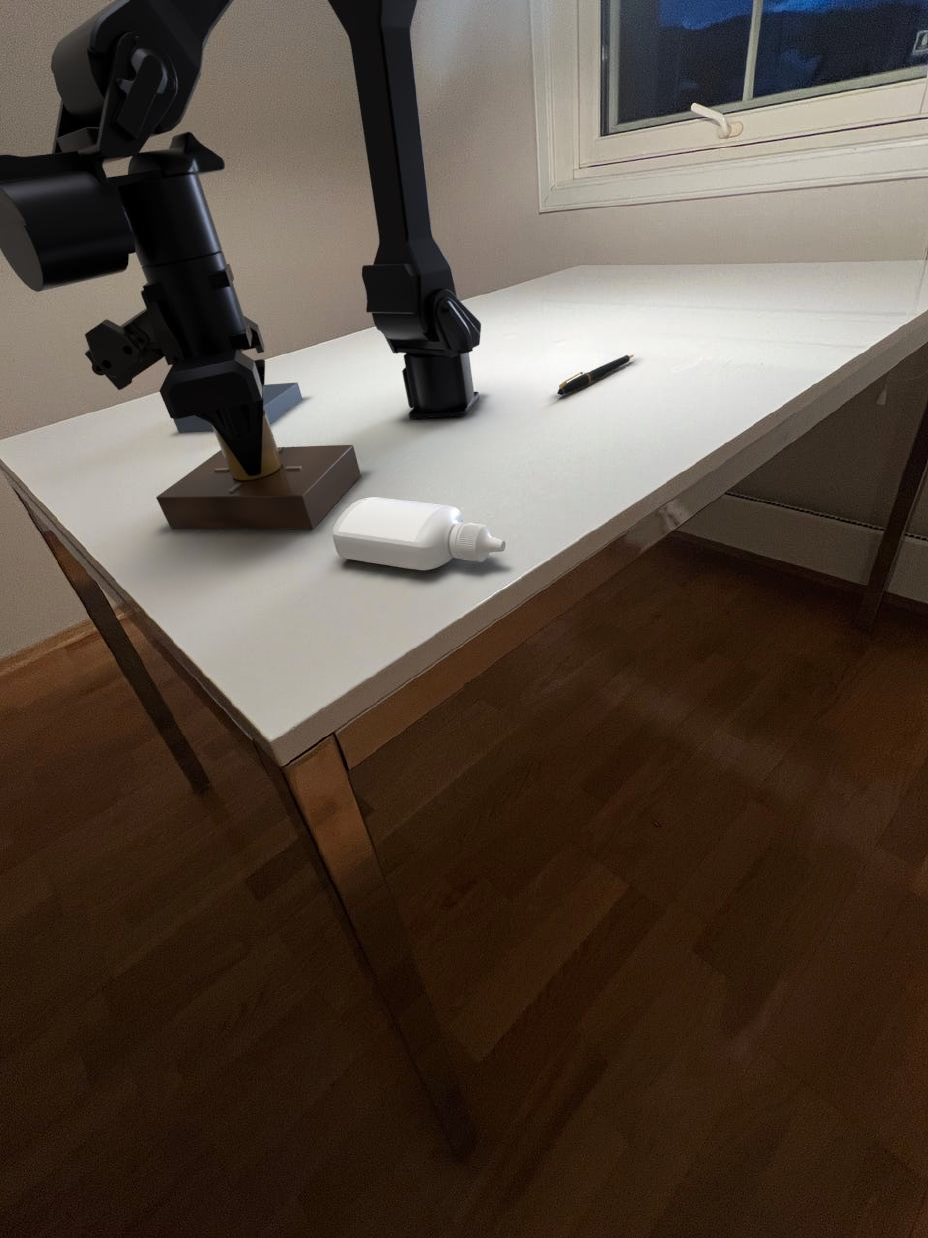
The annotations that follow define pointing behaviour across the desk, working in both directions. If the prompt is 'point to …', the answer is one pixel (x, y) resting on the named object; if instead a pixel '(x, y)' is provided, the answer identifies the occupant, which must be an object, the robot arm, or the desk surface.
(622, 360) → the fountain pen
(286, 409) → the button box
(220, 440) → the brass knob
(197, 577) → the desk surface
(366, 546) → the eye dropper bottle
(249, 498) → the knob plate
